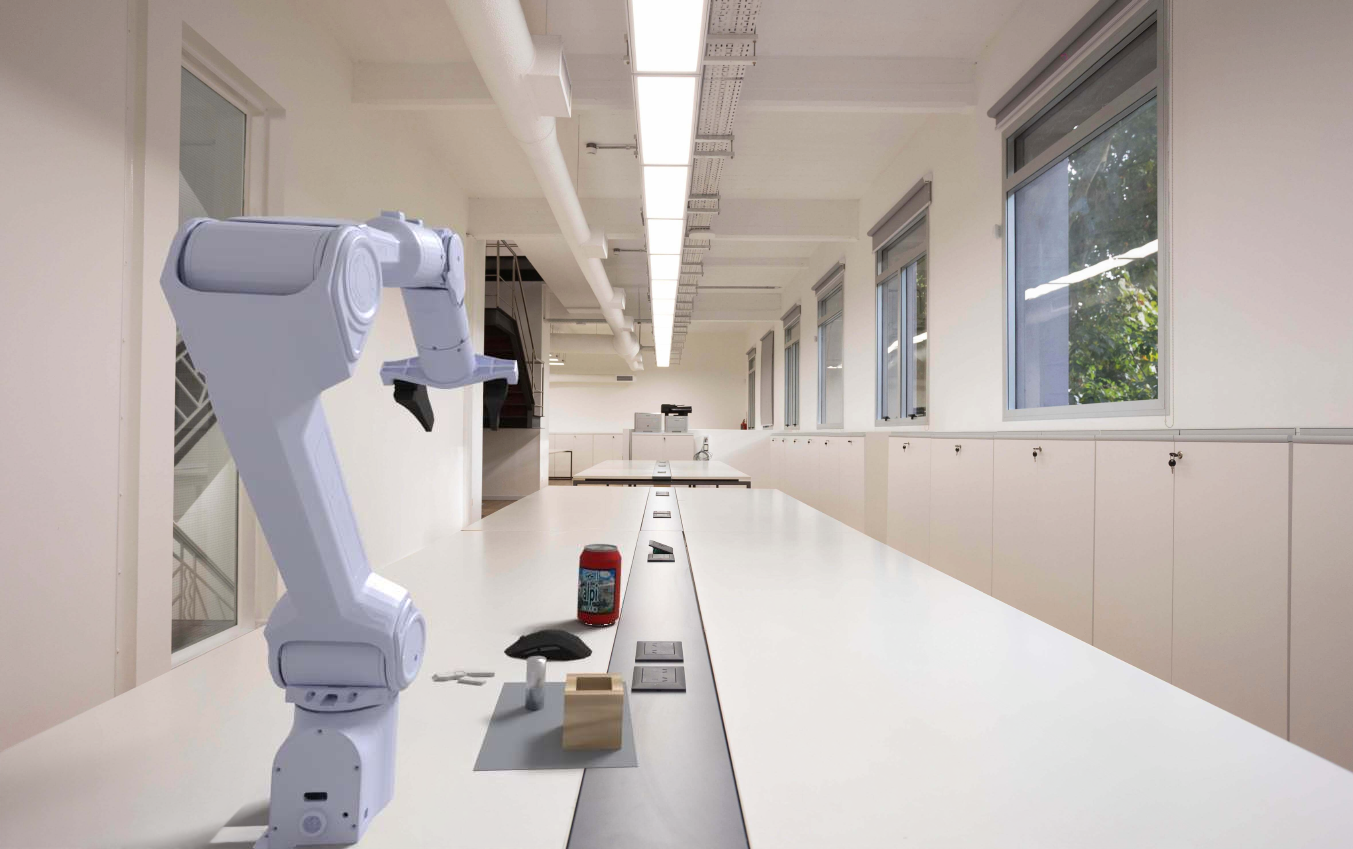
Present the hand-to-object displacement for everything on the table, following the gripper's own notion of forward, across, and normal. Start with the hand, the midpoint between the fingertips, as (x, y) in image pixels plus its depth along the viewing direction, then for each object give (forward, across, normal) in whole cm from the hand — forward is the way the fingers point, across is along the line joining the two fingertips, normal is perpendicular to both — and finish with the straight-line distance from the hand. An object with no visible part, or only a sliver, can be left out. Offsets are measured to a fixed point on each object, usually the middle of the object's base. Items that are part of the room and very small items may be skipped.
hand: (462, 425), depth 79 cm
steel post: (+14, -9, +29) cm, 33 cm away
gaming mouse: (+27, -8, +17) cm, 33 cm away
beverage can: (+40, -15, +5) cm, 43 cm away
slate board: (+12, -12, +32) cm, 36 cm away
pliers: (+21, +4, +22) cm, 31 cm away
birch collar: (+9, -15, +34) cm, 38 cm away
